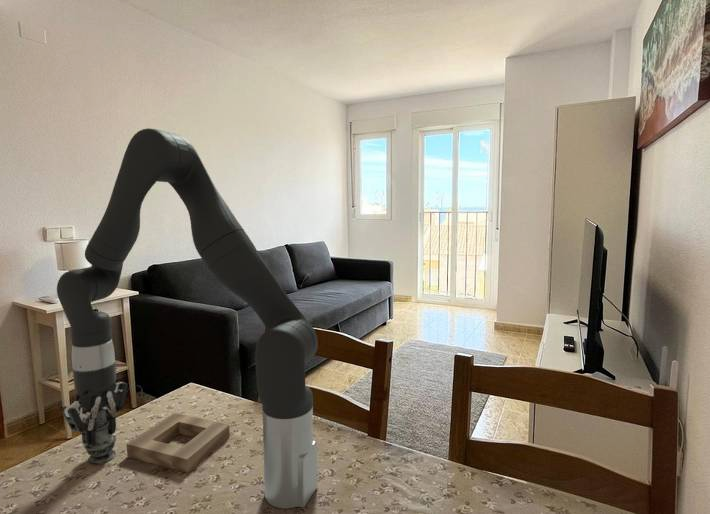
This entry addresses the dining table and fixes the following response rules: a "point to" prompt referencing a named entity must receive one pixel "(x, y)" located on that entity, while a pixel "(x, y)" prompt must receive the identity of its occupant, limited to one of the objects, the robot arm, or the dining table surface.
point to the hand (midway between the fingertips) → (100, 438)
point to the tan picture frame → (179, 458)
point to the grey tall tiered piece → (101, 441)
